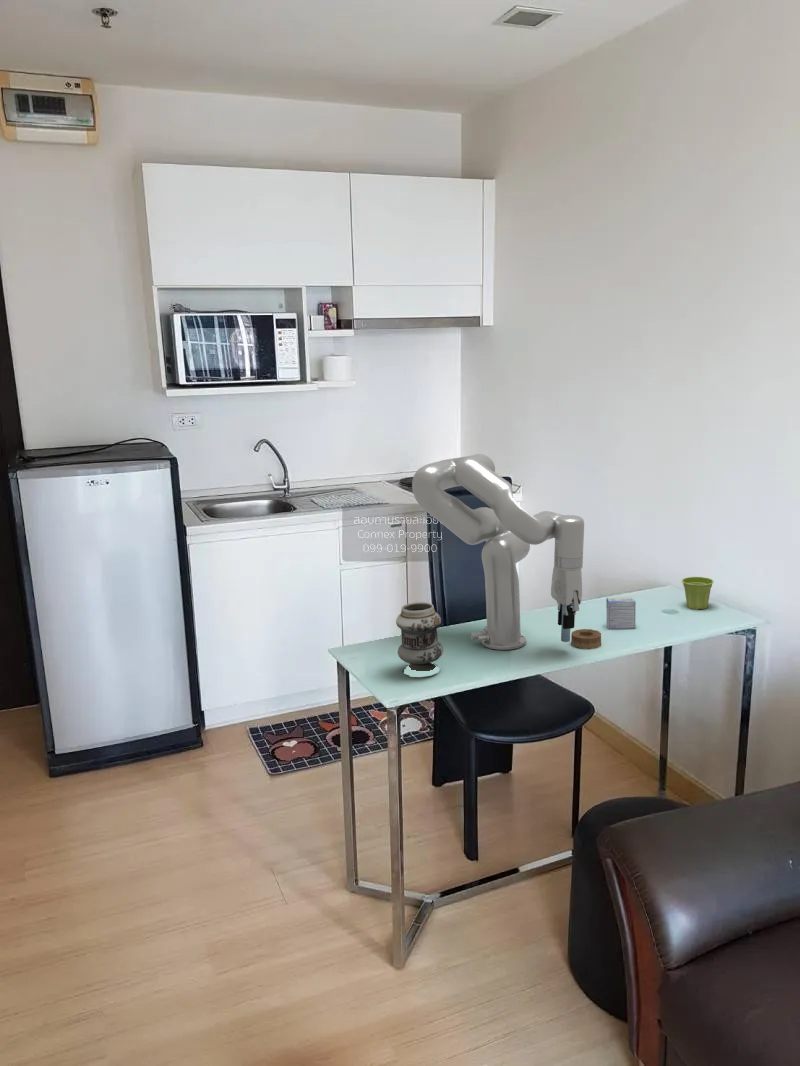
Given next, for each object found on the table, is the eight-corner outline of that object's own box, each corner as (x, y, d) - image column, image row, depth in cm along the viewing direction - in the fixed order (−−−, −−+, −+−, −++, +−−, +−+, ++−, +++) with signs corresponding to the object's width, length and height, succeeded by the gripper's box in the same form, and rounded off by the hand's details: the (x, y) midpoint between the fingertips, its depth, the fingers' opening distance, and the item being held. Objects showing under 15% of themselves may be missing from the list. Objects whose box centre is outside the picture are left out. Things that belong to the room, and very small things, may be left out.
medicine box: (633, 624, 243) (633, 596, 241) (635, 629, 239) (635, 600, 237) (606, 624, 244) (606, 597, 242) (608, 629, 239) (608, 601, 238)
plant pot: (703, 613, 249) (704, 586, 248) (675, 607, 256) (676, 581, 254) (718, 606, 255) (719, 579, 254) (690, 601, 262) (691, 575, 261)
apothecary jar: (418, 659, 223) (414, 597, 220) (453, 668, 216) (450, 603, 212) (389, 673, 214) (385, 608, 211) (424, 683, 207) (421, 615, 203)
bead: (579, 650, 224) (579, 640, 223) (566, 641, 231) (566, 631, 231) (606, 646, 226) (606, 636, 225) (592, 637, 233) (592, 627, 233)
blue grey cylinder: (563, 642, 221) (564, 600, 218) (559, 639, 224) (560, 597, 221) (571, 641, 222) (573, 599, 219) (567, 638, 224) (569, 597, 221)
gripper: (543, 555, 224) (541, 618, 228) (568, 570, 209) (566, 637, 213) (568, 553, 226) (565, 616, 230) (595, 568, 211) (592, 635, 215)
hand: (565, 625), depth 222 cm, fingers closed on blue grey cylinder, 2 cm apart
